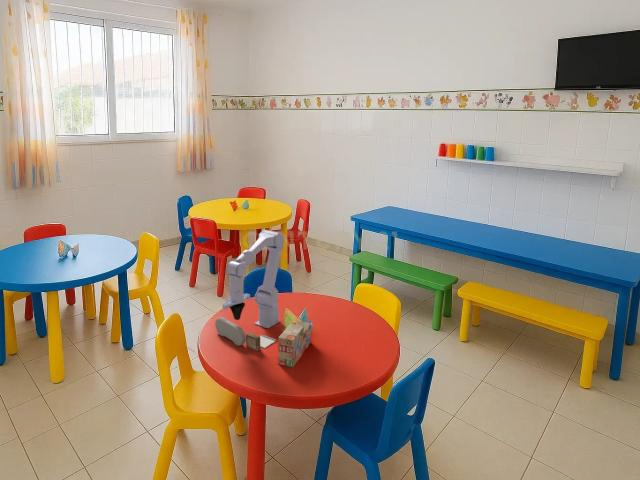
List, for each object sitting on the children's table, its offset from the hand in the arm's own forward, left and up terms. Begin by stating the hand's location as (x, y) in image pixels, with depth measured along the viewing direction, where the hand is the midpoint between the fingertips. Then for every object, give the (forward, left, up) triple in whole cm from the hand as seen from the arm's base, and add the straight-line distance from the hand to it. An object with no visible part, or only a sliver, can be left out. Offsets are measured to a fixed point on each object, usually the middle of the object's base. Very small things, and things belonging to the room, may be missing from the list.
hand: (237, 319), depth 196 cm
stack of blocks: (-7, +26, -11) cm, 29 cm away
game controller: (+1, -4, -11) cm, 11 cm away
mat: (-6, +9, -10) cm, 15 cm away
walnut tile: (+1, +9, -10) cm, 14 cm away
